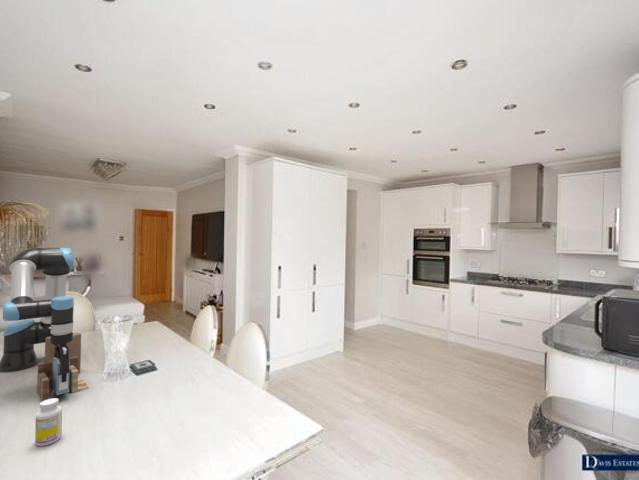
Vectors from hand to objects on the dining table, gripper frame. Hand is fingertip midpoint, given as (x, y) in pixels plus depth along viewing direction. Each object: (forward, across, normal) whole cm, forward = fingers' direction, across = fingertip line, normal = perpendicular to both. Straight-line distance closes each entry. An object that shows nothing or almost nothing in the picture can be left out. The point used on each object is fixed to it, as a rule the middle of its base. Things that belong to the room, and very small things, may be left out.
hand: (60, 385), depth 134 cm
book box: (+2, 0, 0) cm, 2 cm away
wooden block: (+5, -25, +5) cm, 26 cm away
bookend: (+5, -5, +7) cm, 10 cm away
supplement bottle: (+5, +35, -9) cm, 37 cm away
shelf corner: (+5, -5, +1) cm, 7 cm away
